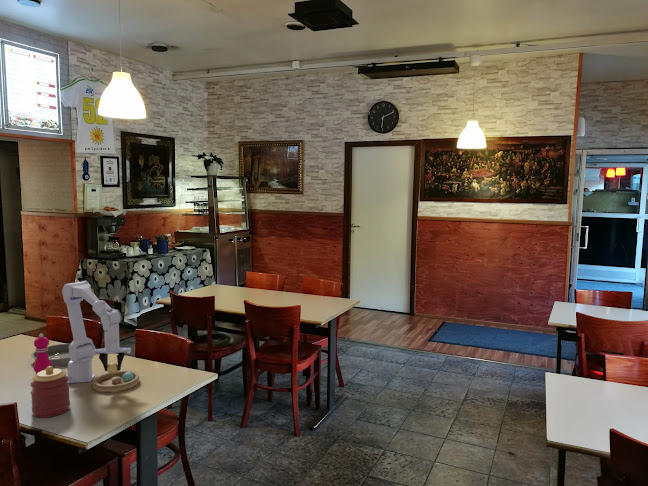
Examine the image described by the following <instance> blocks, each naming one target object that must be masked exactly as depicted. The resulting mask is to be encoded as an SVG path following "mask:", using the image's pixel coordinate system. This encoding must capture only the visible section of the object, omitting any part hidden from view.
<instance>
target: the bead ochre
mask: <svg viewBox="0 0 648 486" xmlns="http://www.w3.org/2000/svg"><path fill="white" fill-rule="evenodd" d="M117 371H118V363H116V362H111V363H108V366H107V371H106V372H107V373H108V372H109V373H110V374H114V373H116V372H117Z"/></svg>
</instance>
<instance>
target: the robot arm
mask: <svg viewBox="0 0 648 486" xmlns="http://www.w3.org/2000/svg"><path fill="white" fill-rule="evenodd" d="M61 292H62V293H61V294H62V298H63V302H64V303H65V304H66V308H67V313H68V319H69V323H70V328H71V333H72V339H73V340H72V341H71V342H70V343H69V344H70V345H69V358H70V360H71V361H69V363H68V364H67V376H68V377H69V381H68V384H70V383H71V384H72V383H90V382H91V381H93V380H94V379H95V376H96V374H95V373H94V374H93V368H92V367H93V364H92V363H93V362H92V360H93V359H94V357H95V356H97V355H98V359H99V361H101V364H102V366H103V369H104V371H105V372H108V371H107V366H108V365H109V363H108V356H109V355H116V354H117V355H116V359H117V365H118V371H121V369H122V363H123V359H124V358H125V356H126V354H127V355H128V354H129V355H130V354H131V350H132V349H131V347H120V325H119V324H120V323H121V321H122V320H123V317H122V313H121V312H120V310H119V309H115V308H112V307H111V306H110V305H109V304H108V303H107V302H106V301H105V300H103V299H101V300H100V299H99V298H98V297H97V296H96V294H95V293H94V291H92V285H91V284H90V283H89V282H88V281H87V280H83V281H78V282H71V283H66V284H64V285H63V287H62V289H61ZM83 300H85V301H86V302H87V303H88V304H90V305H91V306H92V311H93V312H94V313H95V314H96V315H97V316H98V317H99V318H100V322H101V324H102V330H103V331H104V332H103V333H104V336H103V337H104V348H102V347H101V348H96V346H95V345H94V342H93V340H92V339H91V338H89V337H88V336H87V333H86V328H85V327H86V326H85V324H84V318H83V313H82V308H81V301H83ZM79 345H82V346H79ZM77 346H78V347H77Z"/></svg>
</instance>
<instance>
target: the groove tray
mask: <svg viewBox="0 0 648 486" xmlns="http://www.w3.org/2000/svg"><path fill="white" fill-rule="evenodd" d="M126 372H131V373H132V374H133V376H134V378H133V380H131V381H129V382H126V383H125V382H124V381H123V379H122V377H123V375H124V374H125V373H126ZM139 382H140V375H139V373H138V372H136V371H133V370H120V371H117V372H116V373H114V374H110V373H109V372H108V371H107V372H106V373H102V374H100V375H97V376H96V377H94V378H93V379H92V388H93V390H94V391H96V392H99V393H104V394H107V393H108V394H110V393H111V394H112V393H118V392H119V393H120V392H124V391H128V390H131V389H134V387H136V386H137V385H138V384H139Z"/></svg>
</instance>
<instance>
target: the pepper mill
mask: <svg viewBox="0 0 648 486" xmlns="http://www.w3.org/2000/svg"><path fill="white" fill-rule="evenodd" d="M49 344H50V340H49V338H48V337H46V336H44V334H43V333H40V334H39V335H38V337H37V338H35V339H34V341H33V345H34V347H35V351H36V352H37V359H36V362H35V361H34V364H33V371H34V372H35V374H34V375H36V374H37V373H38V372H40V371H43V370H46V368H47V367H48V366H52V364H51V361H50V360H49V358H48V355H47V350H48V347H47V346H50V345H49ZM52 367H53V366H52Z"/></svg>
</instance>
